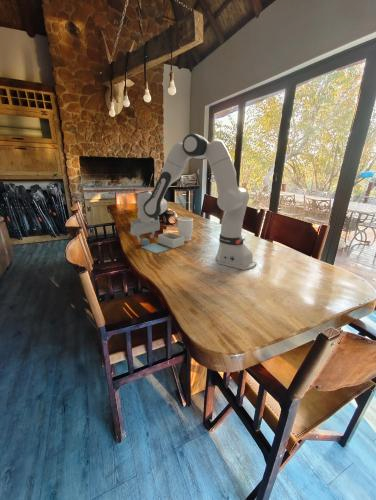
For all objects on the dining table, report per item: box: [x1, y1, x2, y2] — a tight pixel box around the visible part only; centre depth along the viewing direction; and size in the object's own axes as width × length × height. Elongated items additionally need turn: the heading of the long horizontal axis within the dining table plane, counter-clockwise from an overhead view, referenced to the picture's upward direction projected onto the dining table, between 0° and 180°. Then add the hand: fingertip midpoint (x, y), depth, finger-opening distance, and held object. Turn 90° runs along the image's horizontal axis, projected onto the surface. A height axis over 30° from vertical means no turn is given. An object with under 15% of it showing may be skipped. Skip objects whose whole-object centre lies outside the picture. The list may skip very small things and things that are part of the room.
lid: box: [140, 237, 170, 254], centre depth 146 cm, size 19×11×4 cm, turn 47°
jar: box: [177, 216, 194, 242], centre depth 162 cm, size 11×10×15 cm
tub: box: [157, 231, 185, 249], centre depth 153 cm, size 14×10×6 cm
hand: (146, 239), depth 150 cm, fingers open, 8 cm apart
